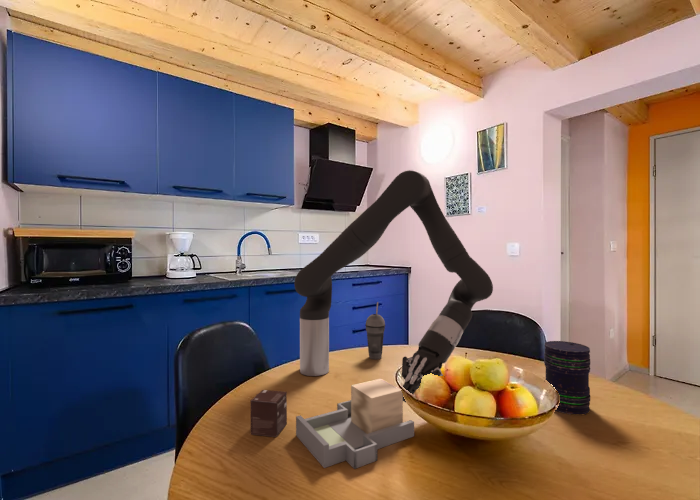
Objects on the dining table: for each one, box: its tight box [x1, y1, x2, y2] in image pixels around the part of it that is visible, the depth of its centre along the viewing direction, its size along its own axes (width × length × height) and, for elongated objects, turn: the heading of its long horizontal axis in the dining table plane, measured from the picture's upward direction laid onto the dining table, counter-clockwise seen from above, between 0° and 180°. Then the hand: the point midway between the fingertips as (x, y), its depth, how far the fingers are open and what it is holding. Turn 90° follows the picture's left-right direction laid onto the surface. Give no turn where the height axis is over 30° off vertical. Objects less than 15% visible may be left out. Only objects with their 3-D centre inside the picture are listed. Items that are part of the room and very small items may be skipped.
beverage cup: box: [364, 301, 386, 360], centre depth 129 cm, size 7×7×20 cm
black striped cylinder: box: [543, 340, 591, 415], centre depth 89 cm, size 10×10×15 cm
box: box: [250, 389, 288, 438], centre depth 78 cm, size 6×6×7 cm
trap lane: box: [295, 399, 415, 470], centre depth 75 cm, size 19×21×4 cm
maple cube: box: [350, 378, 404, 434], centre depth 78 cm, size 8×8×8 cm
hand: (401, 399), depth 81 cm, fingers closed
